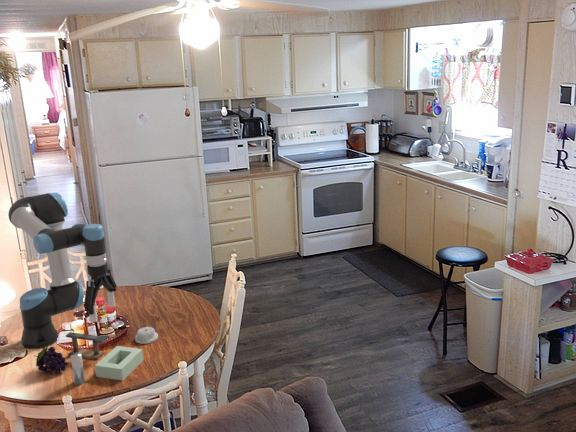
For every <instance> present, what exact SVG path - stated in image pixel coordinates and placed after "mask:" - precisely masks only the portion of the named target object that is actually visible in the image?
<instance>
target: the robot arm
mask: <svg viewBox="0 0 576 432" xmlns="http://www.w3.org/2000/svg"><path fill="white" fill-rule="evenodd" d="M68 212H69V211H68V206H67V203H66V200H65V198H63V196H62V195H61V194H60V193H58V192H47V193H42V194H37V195H33V196H32V195H31V196H25V197H22V198H18V200H15V201H14V203H12V205H11V206H10V208H9V210H8V213H7V214H8V220H9V222H10V223H11V224H12V225H13V226H14V227H15V228H18V229H21V230H22V231H23V232H24V233H25V234H27V235H28V236H29V237H30V238H31V239H32V241H33V246H34V249H35V251H36V253H38V254H40V255H42V254H46V256H47V262H48V267H49V271H50V272H49V273H50V275H51V282H50V284H49V289H47V288H45V287H38V288H37V287H36V288H33V289H29V290H28V291H26V292H25V293H23V294H22V295H21V296H20V297H19V309H20V313H21V314H20V315H21V320H22V326H23V329H22V334H21V340H20V342H21V346H22V345H23V346H24V347H23V346H22V347H23V348H25V349H29V350H30V349H31V350H36V349H43V348H44V347H45V348H46V347H47V346H48V345H49V344H50V345H49V346H51V345H53V344H55V342H57V341H58V340H57V338H58V339H59V333H58V330H57V329H56V327H55V326H54V323H53V322H52V321H53V320H52V317H53V316H56V315H59V314H62V313H65V312H70V311H74V310H75V309H78V308H81V307H82V305H83V307H84V308H87V309H88V310H87V311H88V316H89V321H90V322H94V323H97V322H98V316H97V306H96V305H95V303H96V299H97V296H98V293H99V290H100V289H101V287H102V286H103V287H105V288H104V289H106V290H107V291H106V296H107V297H106V298H107V305H108V307H110V308H115V307H116V302H115V301H116V299H115V292H116V291H117V284H116V281H115V279H114V277H113V275H112V272H111V269H109V268H108V263H107V262H108V261H107V259H108V258H107V257H108V256H107V251H106V250H107V249H106V241H105V239H106V238H105V231H104V227H103V225H102V224H100V223H90V224H89V223H88V224H85V223H75V224H73V225H72V226H71V227H68V228H64V227H63V224H64V223H65V222H66V221H65V218H66V217H67V216H68V215H69V213H68ZM63 228H64V229H63ZM77 246H83V247H84V251H85V261H86V265H87V267H86V268H87V274H88V275H89V276H90V277H91V278H90V280H86V283H85V285H86V288H85V291H84V288H83V284H82V283H81V282H79V281H78V279H77V278H76V277H74V276H73V273H72V269H71V264H70V260H69V259H70V258H69V254H68V249H70V248H74V247H77ZM83 298H84V302H83ZM49 346H48V347H49Z"/></svg>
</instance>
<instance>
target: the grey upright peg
mask: <svg viewBox="0 0 576 432" xmlns="http://www.w3.org/2000/svg"><path fill="white" fill-rule="evenodd" d="M69 357H70V362H71V369H72V376H73V377H72V378H73V383H74V385H75V386H81V385H83V384H85V383H86V377H85V369H84V362H83V358H82V354H81V352H75V353H72V354H71V355H70V356H69Z"/></svg>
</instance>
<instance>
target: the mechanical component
mask: <svg viewBox="0 0 576 432" xmlns="http://www.w3.org/2000/svg"><path fill="white" fill-rule="evenodd" d="M134 338H135V339H134V340H135V342H136V343H138V344H142V345H147V344H151V343H154V342H156V341H157V340H158V339H159V334H158V333H157V332H156V330H155V328H153V327H152V326H146V327H141V328H139V329H138V330H137V334H136V335H135V337H134Z"/></svg>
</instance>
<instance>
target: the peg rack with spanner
mask: <svg viewBox="0 0 576 432" xmlns="http://www.w3.org/2000/svg"><path fill="white" fill-rule="evenodd" d="M65 338H70V339H71V343H72V350H71V351H70V352H69V353H68V356H69V357H71V356H70V355H71V354H72V353H75V352H81V354H82V359H90V360H95V361H98V360H99V359H100V358H101V357H103V356H104V354H105V351H102V350H100V348H99V344H104V343H105V342H106V341H107V340H108V339H110V336H109V335H105V334H101V335H94V334H87V333H86V334H85V333H78V332H71V331H70V332H68V333H67V334H65ZM78 340H84V341H92V348H93V349H88V348H87V349H86V348H79V344H78Z"/></svg>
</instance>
